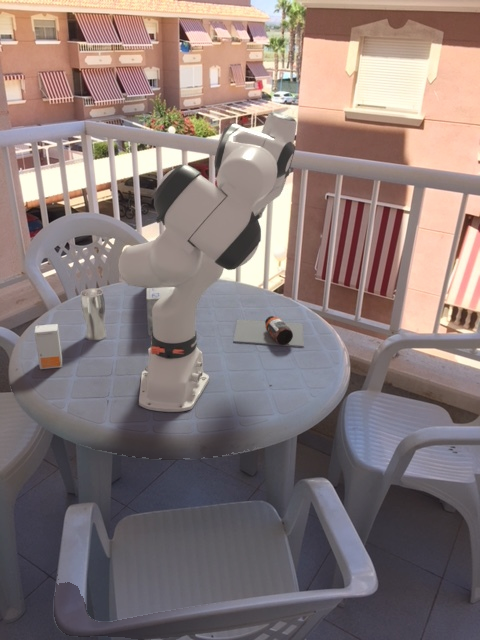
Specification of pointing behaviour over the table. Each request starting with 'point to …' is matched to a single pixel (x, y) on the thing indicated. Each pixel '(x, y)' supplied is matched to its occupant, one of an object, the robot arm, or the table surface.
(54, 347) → the skincare box
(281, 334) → the supplement bottle
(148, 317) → the soda pack
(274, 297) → the table surface
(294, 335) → the rubber mat
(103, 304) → the beer glass
